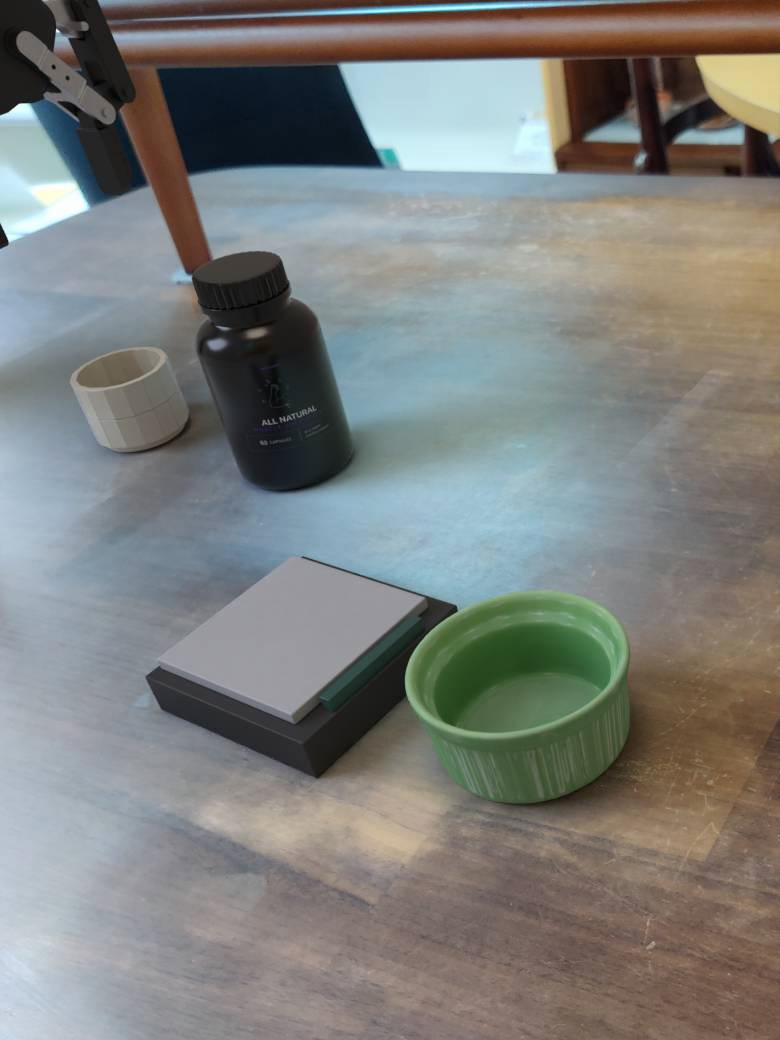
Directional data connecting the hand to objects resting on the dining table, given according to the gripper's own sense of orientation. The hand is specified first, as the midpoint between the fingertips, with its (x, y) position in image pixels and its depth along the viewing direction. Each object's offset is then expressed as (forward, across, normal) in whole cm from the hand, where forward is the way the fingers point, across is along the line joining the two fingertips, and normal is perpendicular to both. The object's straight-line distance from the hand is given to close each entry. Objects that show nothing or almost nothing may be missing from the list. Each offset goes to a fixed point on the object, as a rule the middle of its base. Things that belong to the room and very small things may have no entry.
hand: (58, 218), depth 69 cm
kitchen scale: (+14, -14, -28) cm, 34 cm away
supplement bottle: (+14, 0, -13) cm, 19 cm away
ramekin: (+14, -13, -40) cm, 45 cm away
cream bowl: (+14, -1, 0) cm, 14 cm away
